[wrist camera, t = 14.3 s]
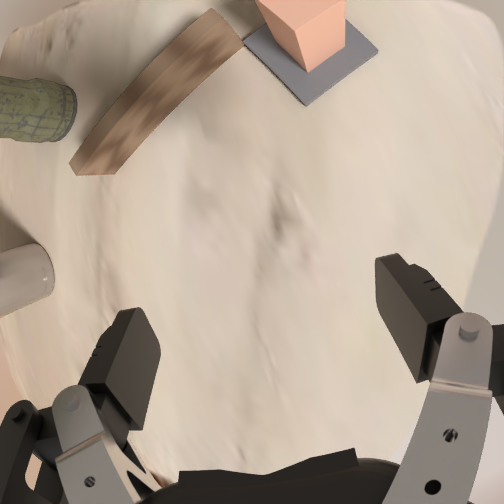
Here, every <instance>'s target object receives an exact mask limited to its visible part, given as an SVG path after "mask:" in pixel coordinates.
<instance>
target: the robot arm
mask: <svg viewBox="0 0 504 504" xmlns="http://www.w3.org/2000/svg"><path fill="white" fill-rule="evenodd" d="M375 284H376V303H377V307H378V311H379V313H380V315H381V317H382V319H383V321H384V322H385V324H386V326H387V328H388V330H389V332H390V333H391V335H392V337H393V339H394V341H395V343H396V344H397V346H398V348H399V350H400V352H401V354H402V356H403V358H404V360H405V361H406V363H407V365H408V367H409V369H410V371H411V373H412V375H413V377H414V379H415V381H416V383H420V382H423V381H425V380H429V382H430V386H429V389H428V392H427V395H426V399H425V402H424V405H423V408H422V411H421V414H420V417H419V419H418V423H417V425H416V428H415V430H414V433H413V436H412V438H411V441H410V443H409V446H408V448H407V451H406V454H405V456H404V458H403V460H402V463H401V465H399V464H397V463H393V462H390V461H386V460H381V459H374V458H357V456H356V452H355V448H351V449H348V450H344V451H339V452H335V453H331V454H326V455H322V456H317V457H312V458H309V459H306V460H304V461H301V462H299V463H296V464H294V465H291V466H289V467H286V468H284V469H281V470H278V471H276V472H273V473H270V474H267V475H256V474H247V473H240V472H232V471H226V470H200V471H179V479H178V482H176V483H173V484H170V485H167V486H165V487H163V488H161V487H160V486H159V484H158V483H157V482H156V481H155V479H154V478H153V477H152V475H151V473H150V472H149V470H148V469H147V467H146V466H145V464H144V462H143V461H142V459H141V457H140V456H139V454H138V452H137V451H136V449H135V447H134V445H133V444H132V442H131V440H130V439H129V438H128V437H127V436H128V433H129V430H143V425H144V421H145V417H146V413H147V408H148V404H149V400H150V396H151V392H152V388H153V384H154V380H155V376H156V372H157V368H158V364H159V361H160V356H161V349H160V344H159V341H158V339H157V337H156V335H155V333H154V331H153V329H152V327H151V325H150V323H149V321H148V319H147V317H146V315H145V313H144V311H143V310H142V309H141V308H139V307H137V308H131V309H126V310H121V311H119V312H118V314H117V316H116V318H115V320H114V322H113V324H112V326H110V327H109V328H108V329H107V330H106V331H105V332H104V333H103V334H102V335H101V336H100V338H99V340H98V342H97V344H96V348H95V349H94V351H93V353H92V357H90V359H89V361H88V363H87V365H86V367H85V370H84V372H83V374H82V376H81V378H80V380H79V383H78V385H73V386H70V387H68V388H66V389H64V390H63V391H61V392H60V393H59V394H58V395H57V397H56V398H55V400H54V402H53V405H52V406H51V407H48V408H44V409H41V410H37V409H36V407H35V406H34V405H33V404H32V403H31V402H30V401H28V400H21V401H19V402H17V403H15V404H14V405H12V406H11V407H10V409H9V410H8V411H7V413H6V415H5V417H4V419H3V421H2V423H1V426H0V504H474V503H472V502H469V501H468V499H469V496H470V493H471V490H472V487H473V483H474V480H475V477H476V474H477V470H478V466H479V462H480V459H481V454H482V450H483V446H484V442H485V437H486V432H487V427H488V421H489V416H490V410H491V402H492V397H495V399H496V401H497V403H498V405H499V407H500V409H501V411H502V412H503V414H504V324H502V325H491V324H490V323H489V322H488V320H486V319H485V318H484V317H482V316H480V315H478V314H475V313H468V312H466V313H464V312H463V311H462V310H461V308H460V307H459V306H458V305H457V304H456V303H455V301H454V300H453V299H452V298H451V297H450V296H449V294H448V293H447V292H446V291H445V290H444V289H443V288H441V285H440V284H439V283H438V282H437V281H435V279H434V278H433V276H432V275H431V274H430V273H429V272H428V271H427V270H426V269H424V268H422V267H420V266H418V265H416V264H412V265H408V264H407V263H406V262H405V260H404V259H403V258H402V257H401V256H400V255H399V254H398V253H395V254H391V255H387V256H382V257H378V258H376V260H375ZM53 287H54V272H53V267H52V264H51V261H50V259H49V257H48V255H47V253H46V252H45V250H44V249H43V248H42V247H41V246H40V245H38V244H36V243H31V244H27V245H23V246H20V247H16V248H13V249H9V250H6V251H2V252H0V318H1V317H3V316H5V315H8V314H10V313H12V312H14V311H16V310H18V309H20V308H23V307H25V306H27V305H29V304H32V303H34V302H36V301H38V300H40V299H42V298H45V297H47V296H49V295H50V294H51V292H52V290H53ZM32 453H33V454H34V455H35V456H36V457H37V458H38V459H40V460H41V461H42V464H41V468H40V471H39V474H38V478H37V481H36V485H35V488H34V491H33V490H32V489H30V488H29V487H28V485H27V483H26V481H25V473H26V470H27V467H28V463H29V460H30V457H31V455H32Z"/></svg>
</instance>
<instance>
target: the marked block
mask: <svg viewBox="0 0 504 504" xmlns="http://www.w3.org/2000/svg"><path fill="white" fill-rule="evenodd" d="M254 1H255V2H256V4H257V6H258V8H259V10H260V12H261V13H262V15H263V17H264V19H265V21H266V23H267V25H268V27H269V29H270V31H271V33H272V35H273V37H274V39H275V41H276V42H277V43H278V44H279V45H280V46H281V47H282V48H283V49H284V50H285V51H286V52H287V53H288V54H289V55H290V56H291V57H292V58H294V59H295V60H296V61H297V62H298V64H299V65H300V66H301V67H302V68H303V69H304V70H305V71H306V72H307V73H309V72H310V71H311V70H313V69H314V68H315V67H317V66H318V65H320V64H321V63H322V62H324V61H325V60H326V59H328V58H329V57H331V56H332V55H333V54H335V53H336V52H338V51H339V50H341V49H342V48H344V47H345V0H254Z"/></svg>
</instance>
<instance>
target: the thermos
mask: <svg viewBox="0 0 504 504" xmlns="http://www.w3.org/2000/svg"><path fill="white" fill-rule="evenodd" d="M76 112H77V99H76V95H75V93H74V91H73V89H71V88H70V87H68V86H62V85H59V84H58V83H56V82H51V81H47V80H42V79H37V78H36V79H31V80H27V81H26V80H21V79H15V78H9V77H2V76H0V138H12V139H14V140H16V141H21V142H38V143H42V142H45V141H50V142H56V141H60V140H61V139H62V138H64V137H65V136H66V134H67V133H68V132H69V131H70V129H71V127H72V125H73V123H74V120H75V116H76Z"/></svg>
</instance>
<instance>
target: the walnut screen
mask: <svg viewBox="0 0 504 504" xmlns="http://www.w3.org/2000/svg"><path fill="white" fill-rule="evenodd" d="M244 45H245V44H244V43H243V42H242V40H241V39H240V38H239V36H238V35H237V34H236V33H235V31H234V30H233V29H232V27H231V26H230V25H229V24H228V22H227V21H226V20H225V19H224V18H223V17H222V16H221V15H220V14H218V13H217V12H216V11H215V10H214V9H212V8H210V9H209V10H208V11H206V12H205V13H204V14H203V15H202V16H200V17H199V18H198V19H197V20H196V21H195V22H193V23H192V24H191V25H190V26H189V27H188V28H187V29H185V30H184V31H183V32H182V33H181V34H180V35H179V36H178V37H177V38H176V39H175V40H173V41H172V42H171V43H170V44H169V45H168V46H167V47H166V48H165V49H164V50H163V51H162V52H161V53H160V54H159V55H158V56H157V57H156V58H155V59H154V60H153V61H152V62H151V63H150V64H149V65H148V66H147V67H146V68H145V69H144V70H143V71H142V72H141V74H140V75H139V76H138V77H137V78H136V79H135V80H134V81H133V82H132V83H131V84H130V86H129V87H128V88H127V89H126V90H125V91H124V92H123V93H122V95H121V96H120V97H119V98H118V99H117V100H116V102H115V103H114V104H113V105H112V106H111V108H110V109H109V110H108V111H107V112H106V114H105V115H104V116H103V117H102V119H101V120H100V121H99V122H98V124H97V125H96V126H95V128H94V129H93V130H92V131H91V133H90V134H89V135H88V137H87V138H86V139H85V141H84V142H83V144H82V145H81V146H80V148H79V149H78V150H77V152H76V153H75V155H74V156H73V158H72V159H71V160H70V162H69V165H70V166H71V168H72V170H73V171H74V173H75V175H76V176H83V175H108V174H115V173H116V172H117V171H118V170H119V168H120V167H121V166H122V165H123V164H124V162H125V161H126V160H127V159H128V158H129V157H130V155H131V154H132V153H133V152H134V151H135V150H136V149H137V148H138V146H139V145H140V144H141V143H142V142H143V141H144V140H145V139H146V138H147V137H148V135H149V134H150V133H151V132H152V131H153V130H154V129H155V128H156V127H157V126H158V125H159V124H160V123H161V122H162V121H163V120H164V119H165V118H166V116H167V115H168V114H169V113H170V112H171V111H172V110H173V109H174V108H175V107H176V106H177V105H178V104H179V103H180V102H181V101H183V100H184V99H185V98H186V97H187V96H188V95H189V94H190V93H191V92H192V91H193V90H194V89H195V88H196V87H197V86H198V85H199V84H200V83H201V82H203V81H204V80H205V79H206V78H207V77H208V76H209V75H210V74H211V73H213V72H214V71H215V70H216V69H217V68H218V67H219V66H220V65H222V64H223V63H224V62H225V61H226V60H227V59H229V58H230V57H231V56H232V55H233V54H235V53H236V52H237V51H238V50H239V49H241V48H242V47H243V46H244Z"/></svg>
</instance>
